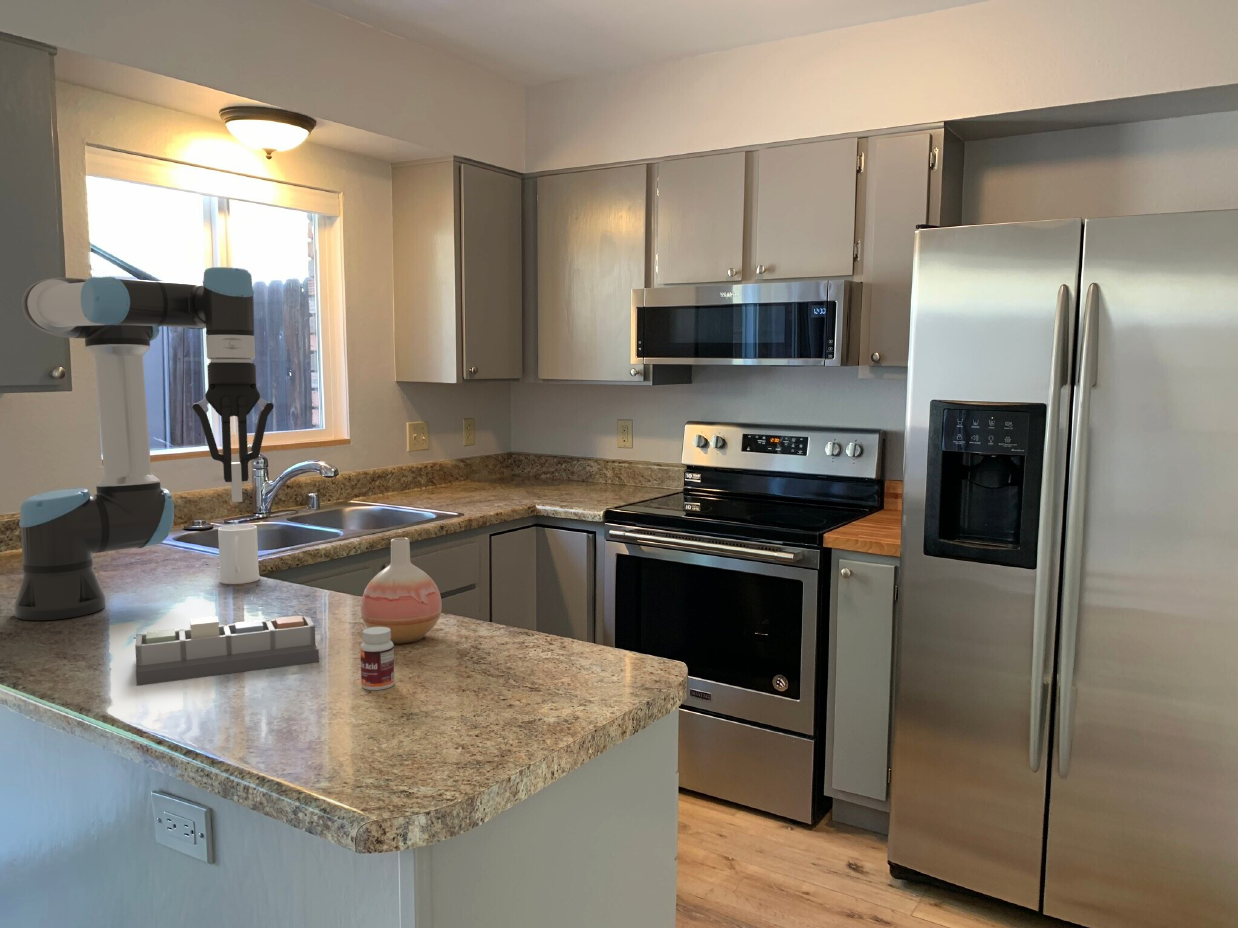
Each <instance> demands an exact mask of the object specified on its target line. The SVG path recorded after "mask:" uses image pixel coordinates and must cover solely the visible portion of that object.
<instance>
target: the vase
mask: <svg viewBox="0 0 1238 928" xmlns="http://www.w3.org/2000/svg"><path fill="white" fill-rule="evenodd" d="M410 547H411V545H410V539H409V537H394V538H391V540H390V564H389V565H387V566H386V567H385V568H383V569H382V570H381V571H379V572H378V573H377V574H376V575H375V576H374V577H373V578H371V580H370V581H369V583H368V584H367V585H366V586H365V589H364V590H363V591H364V592H363V594H362V597H361V602H360V614H361V619H362V621H363V624H364V626H365V627H366V629H367V628H371V627H387V628H390V630H391V639H390V641H392V642H393V644H394V645H396V644H398V645H401V644H410V643H413V642H417V641H419V640H421V639H423V638H424V637H425V636H426V635H427V634H428V633H429V632H431V630H433V628H435V626H436V624H437V623H438V622H439V620H440V617H441V614H442V608H443V607H442V606H443V604H442V602H443V601H442V598H441V596H442V595H441V593H440V591H439V588H438V586H437V584H436V582H435V581H434V579H432V577H431V576H429V575H428V573H426V572H425V571H424V570H422V569H420V568H419V567H417V566H416V565H414V564H413V563H412V562H411V549H410Z"/></svg>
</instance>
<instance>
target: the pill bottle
mask: <svg viewBox="0 0 1238 928" xmlns="http://www.w3.org/2000/svg"><path fill="white" fill-rule="evenodd" d="M390 639H391V630H390V628H387V627H371V628H367V627H366V628H365V629H363V631H362V641H363V642H362V643H361V644H360V647H359V648H360V649H359V651H360V683H361V685H360V686H361V687H362V688H363V689H365V690H367V691H382V690H387V689H389V688H391V687H394V685H395V644H393V642H392V641H390Z"/></svg>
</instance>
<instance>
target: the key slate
mask: <svg viewBox="0 0 1238 928" xmlns="http://www.w3.org/2000/svg"><path fill="white" fill-rule="evenodd" d="M261 621H262V620H261V619H254V620H246V621H238V622H234V623H233V624H234V626H235V634H239V633H248V632H257V631H263V624H262V622H261Z"/></svg>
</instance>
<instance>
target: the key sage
mask: <svg viewBox="0 0 1238 928" xmlns="http://www.w3.org/2000/svg"><path fill="white" fill-rule="evenodd" d="M175 630H176V629H175V628H173V629H172V628H171V629H164V630H163V629H162V630H155V631H147V632H146V633H147V635H146V641H147V644H151V643H160V642H168V641H176V639H175Z"/></svg>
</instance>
